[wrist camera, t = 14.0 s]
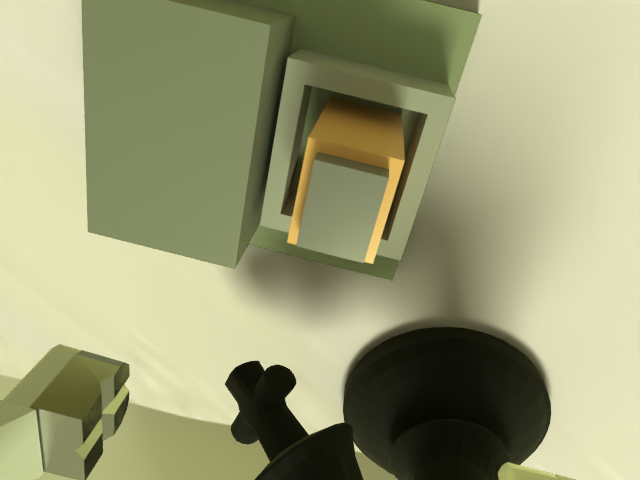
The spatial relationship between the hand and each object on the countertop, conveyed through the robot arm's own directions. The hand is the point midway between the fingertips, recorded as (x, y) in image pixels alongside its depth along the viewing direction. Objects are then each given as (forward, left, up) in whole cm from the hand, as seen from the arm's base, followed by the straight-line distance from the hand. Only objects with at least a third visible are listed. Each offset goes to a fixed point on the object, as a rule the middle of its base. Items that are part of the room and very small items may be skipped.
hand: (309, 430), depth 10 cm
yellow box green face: (0, 0, -20) cm, 20 cm away
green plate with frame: (+5, 0, -21) cm, 22 cm away
